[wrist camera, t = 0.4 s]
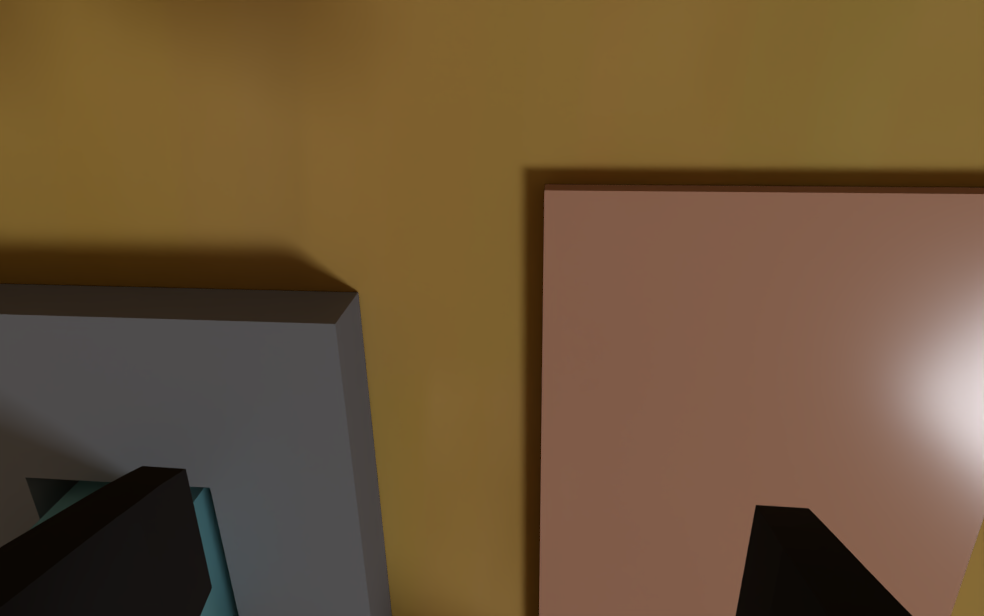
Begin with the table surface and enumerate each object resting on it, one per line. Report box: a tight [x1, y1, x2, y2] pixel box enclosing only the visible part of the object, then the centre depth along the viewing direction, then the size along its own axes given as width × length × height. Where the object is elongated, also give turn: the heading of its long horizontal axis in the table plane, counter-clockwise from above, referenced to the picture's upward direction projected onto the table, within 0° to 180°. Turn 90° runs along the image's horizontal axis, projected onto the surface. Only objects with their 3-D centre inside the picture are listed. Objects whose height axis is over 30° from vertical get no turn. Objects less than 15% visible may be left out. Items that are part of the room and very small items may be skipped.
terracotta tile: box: [539, 184, 984, 616], centre depth 19 cm, size 16×12×1 cm
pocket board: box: [0, 284, 392, 616], centre depth 22 cm, size 18×14×2 cm
